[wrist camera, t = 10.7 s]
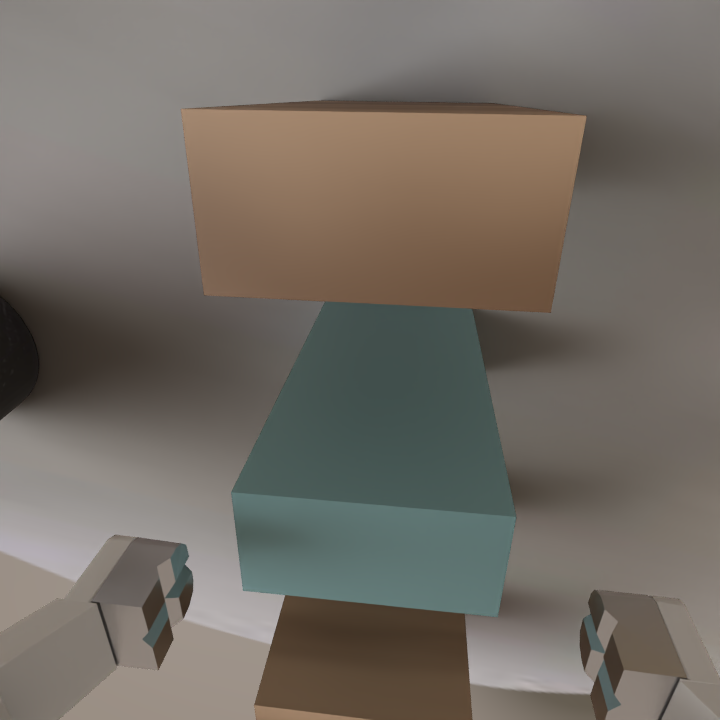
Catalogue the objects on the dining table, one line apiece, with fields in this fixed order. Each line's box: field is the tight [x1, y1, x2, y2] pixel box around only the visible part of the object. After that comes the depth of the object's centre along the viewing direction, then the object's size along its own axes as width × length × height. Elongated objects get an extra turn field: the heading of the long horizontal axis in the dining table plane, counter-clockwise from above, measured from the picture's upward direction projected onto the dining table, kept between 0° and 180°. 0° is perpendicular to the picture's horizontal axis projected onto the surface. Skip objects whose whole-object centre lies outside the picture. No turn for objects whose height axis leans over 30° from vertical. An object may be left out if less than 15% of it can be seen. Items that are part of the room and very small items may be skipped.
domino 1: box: [181, 101, 587, 313], centre depth 14 cm, size 3×6×12 cm, turn 89°
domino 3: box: [254, 595, 472, 720], centre depth 21 cm, size 3×6×12 cm, turn 89°
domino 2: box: [231, 301, 516, 617], centre depth 17 cm, size 3×6×12 cm, turn 89°
